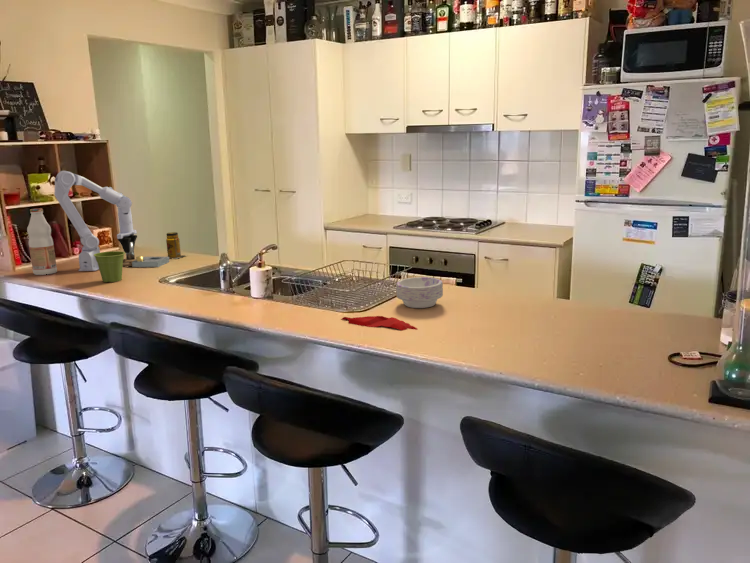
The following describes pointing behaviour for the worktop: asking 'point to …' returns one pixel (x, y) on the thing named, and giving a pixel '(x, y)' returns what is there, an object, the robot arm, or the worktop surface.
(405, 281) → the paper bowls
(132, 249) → the silver metal cylinder
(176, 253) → the condiment
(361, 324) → the cloth
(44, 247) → the fruit juice
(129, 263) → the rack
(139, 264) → the socket block
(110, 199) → the robot arm
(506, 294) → the worktop surface
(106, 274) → the plant pot
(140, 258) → the pin
